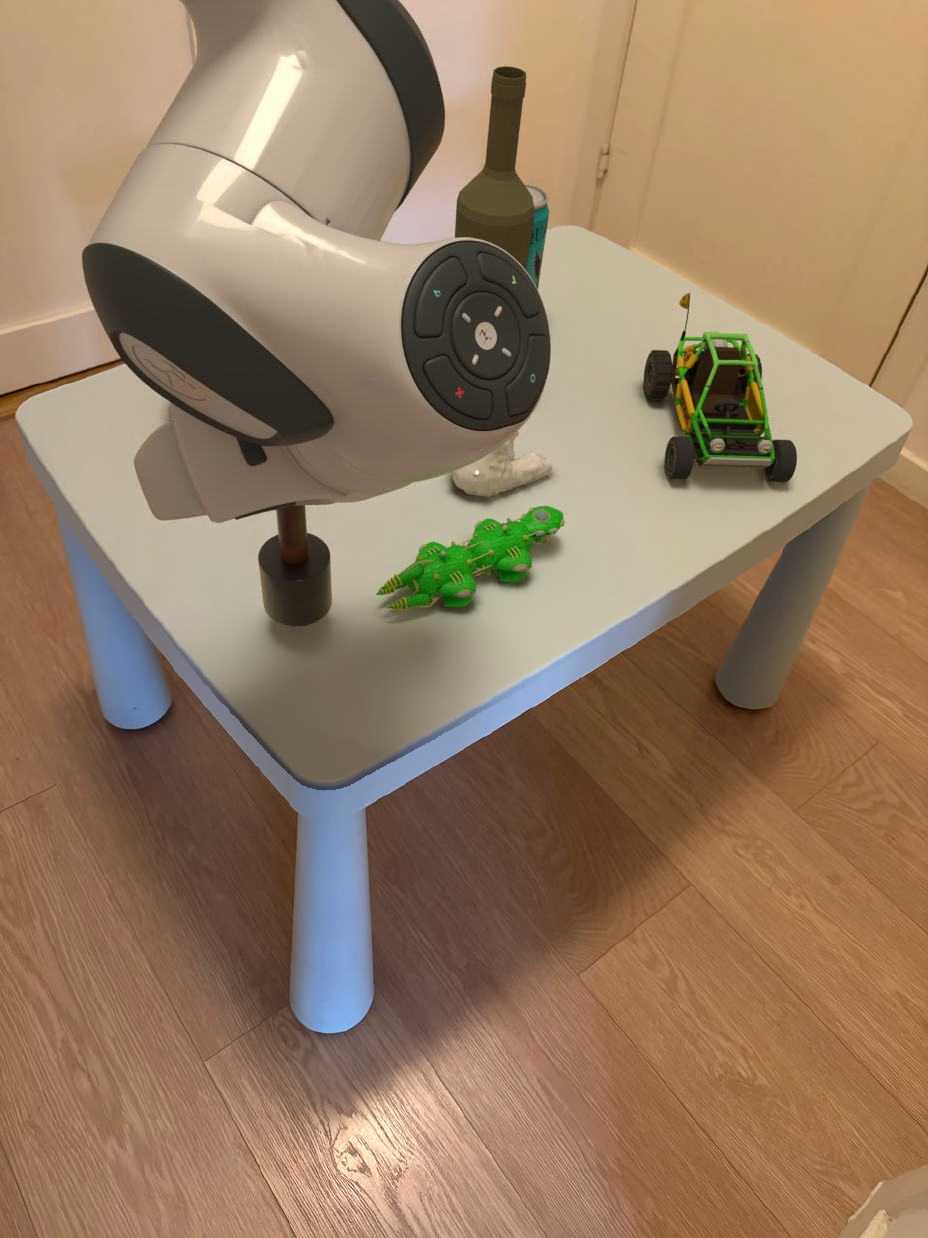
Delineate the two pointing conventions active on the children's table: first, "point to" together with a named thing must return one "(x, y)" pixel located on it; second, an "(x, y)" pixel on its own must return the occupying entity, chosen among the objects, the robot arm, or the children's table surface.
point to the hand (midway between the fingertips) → (282, 455)
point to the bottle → (500, 176)
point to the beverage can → (537, 232)
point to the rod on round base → (295, 572)
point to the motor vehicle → (717, 406)
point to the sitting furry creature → (501, 471)
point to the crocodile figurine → (474, 559)
